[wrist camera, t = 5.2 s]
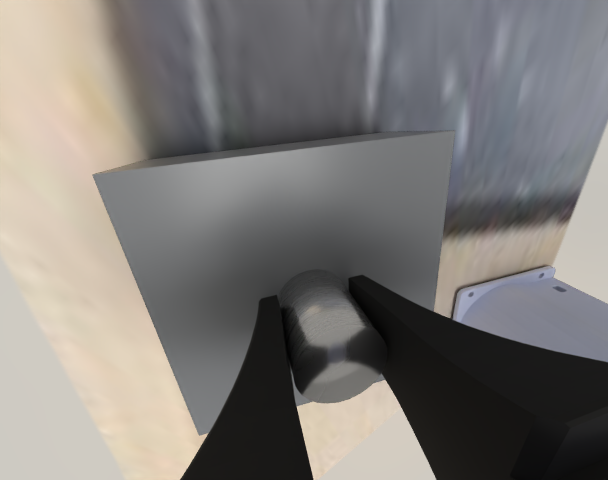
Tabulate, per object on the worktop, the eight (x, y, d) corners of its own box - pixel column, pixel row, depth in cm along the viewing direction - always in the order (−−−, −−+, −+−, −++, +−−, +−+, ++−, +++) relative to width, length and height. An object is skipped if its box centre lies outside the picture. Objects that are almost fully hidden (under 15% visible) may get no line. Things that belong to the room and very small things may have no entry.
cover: (387, 131, 14) (559, 128, 7) (382, 312, 19) (479, 431, 11) (145, 160, 12) (-10, 202, 4) (208, 356, 17) (186, 538, 9)
